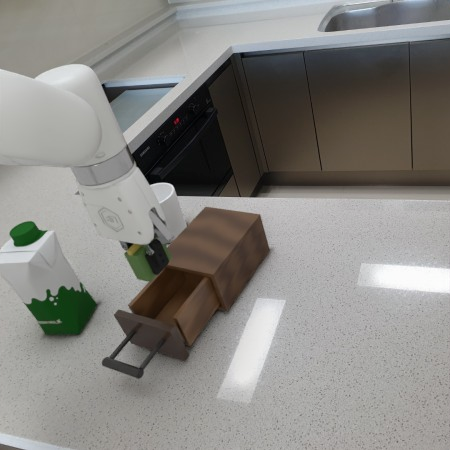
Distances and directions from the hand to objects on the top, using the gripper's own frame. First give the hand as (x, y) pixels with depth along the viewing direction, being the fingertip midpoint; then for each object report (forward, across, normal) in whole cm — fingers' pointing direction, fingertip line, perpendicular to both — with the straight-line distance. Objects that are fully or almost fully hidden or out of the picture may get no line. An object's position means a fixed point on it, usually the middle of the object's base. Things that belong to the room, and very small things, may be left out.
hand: (153, 265), depth 71 cm
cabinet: (+14, 0, +13) cm, 19 cm away
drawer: (+13, 0, -2) cm, 13 cm away
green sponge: (+1, 0, 0) cm, 1 cm away
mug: (+14, -20, +22) cm, 33 cm away
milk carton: (+14, -22, -5) cm, 27 cm away
